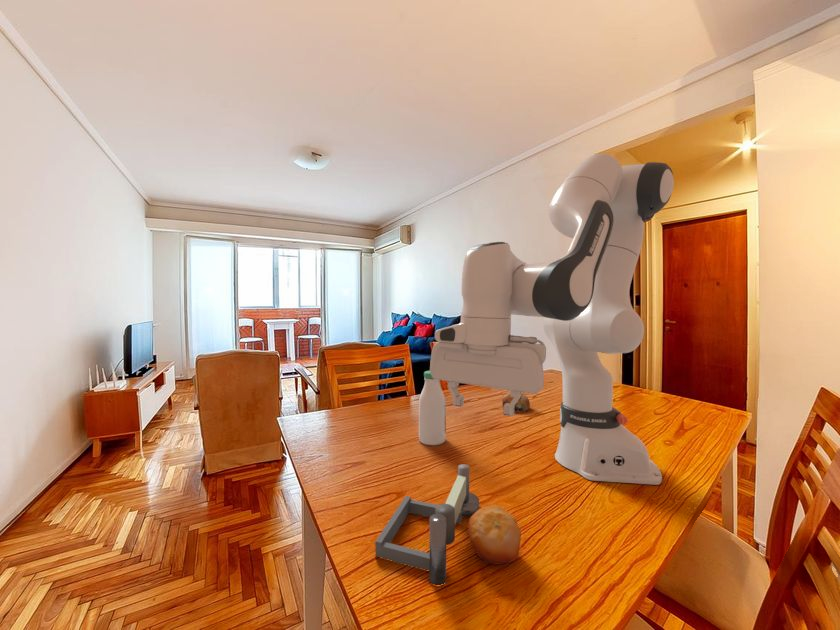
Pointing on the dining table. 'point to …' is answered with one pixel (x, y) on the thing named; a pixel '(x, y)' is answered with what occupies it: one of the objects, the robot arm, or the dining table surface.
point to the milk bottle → (432, 412)
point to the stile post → (437, 549)
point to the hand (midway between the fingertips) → (482, 410)
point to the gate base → (470, 506)
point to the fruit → (494, 534)
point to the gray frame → (392, 527)
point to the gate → (455, 502)
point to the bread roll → (521, 404)
